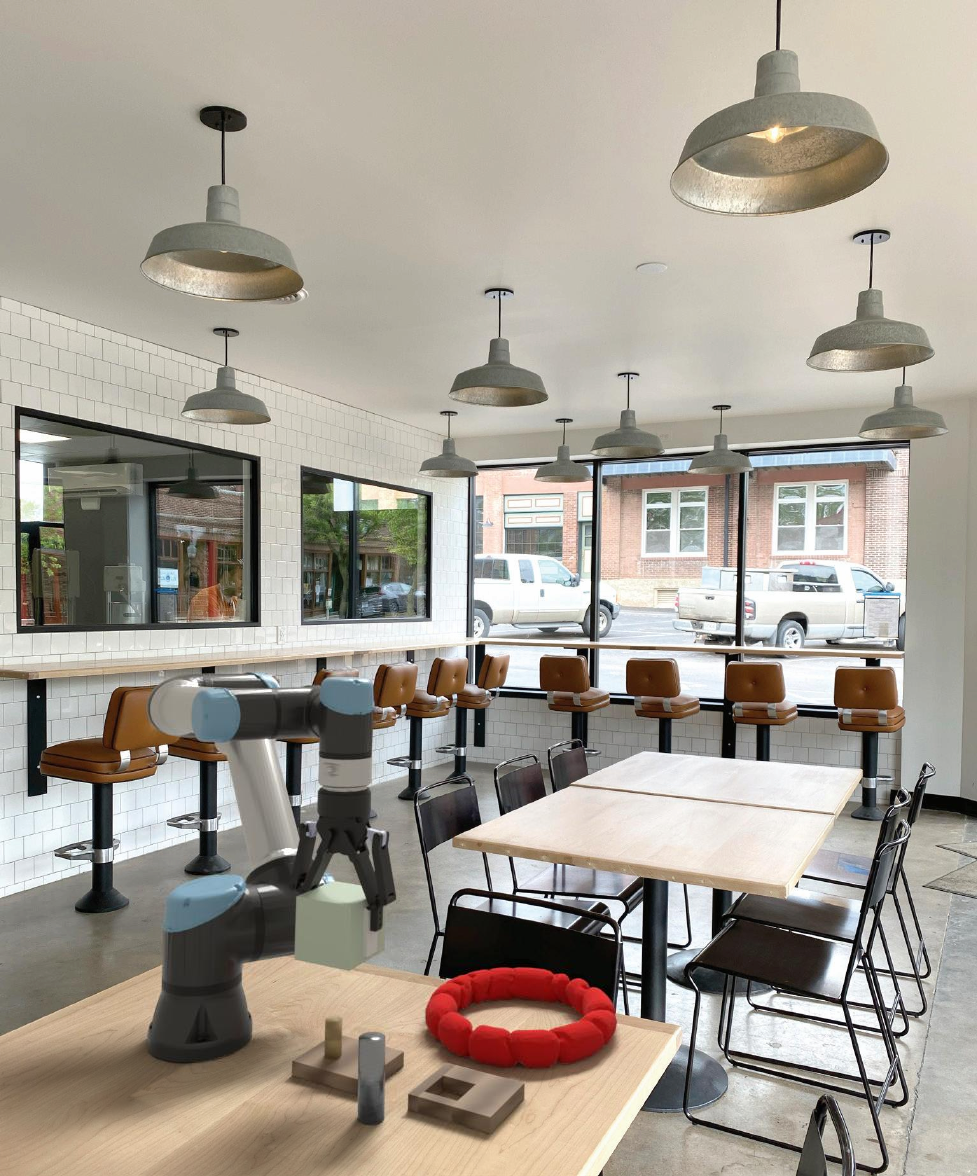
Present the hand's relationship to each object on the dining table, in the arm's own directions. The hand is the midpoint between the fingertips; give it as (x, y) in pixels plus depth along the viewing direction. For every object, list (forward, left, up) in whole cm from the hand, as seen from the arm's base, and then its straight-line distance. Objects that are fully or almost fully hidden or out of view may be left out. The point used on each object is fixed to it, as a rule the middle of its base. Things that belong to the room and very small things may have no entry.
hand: (340, 947), depth 130 cm
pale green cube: (0, 0, -1) cm, 1 cm away
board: (+1, +2, -17) cm, 17 cm away
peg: (+11, -8, -17) cm, 22 cm away
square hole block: (+20, +1, -17) cm, 26 cm away
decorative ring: (+16, +27, -18) cm, 36 cm away
